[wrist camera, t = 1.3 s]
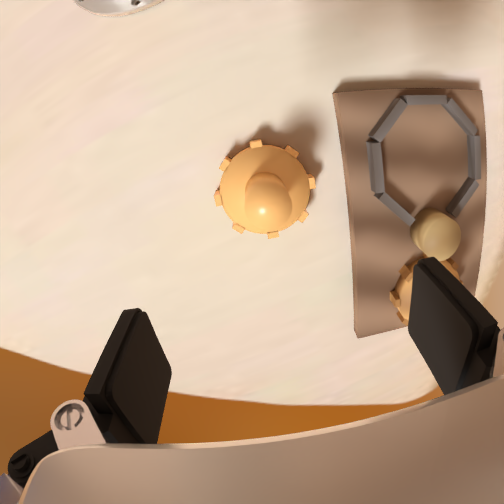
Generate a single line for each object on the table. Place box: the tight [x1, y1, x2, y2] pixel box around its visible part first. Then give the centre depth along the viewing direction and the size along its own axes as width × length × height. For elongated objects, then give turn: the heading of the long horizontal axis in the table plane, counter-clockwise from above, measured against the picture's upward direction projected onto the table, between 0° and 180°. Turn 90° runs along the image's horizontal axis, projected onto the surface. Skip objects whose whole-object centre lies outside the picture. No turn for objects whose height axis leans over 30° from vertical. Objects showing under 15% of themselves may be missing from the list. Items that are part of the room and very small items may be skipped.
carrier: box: [333, 88, 487, 338], centre depth 25 cm, size 24×15×8 cm, turn 11°
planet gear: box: [214, 139, 316, 239], centre depth 24 cm, size 8×8×6 cm
